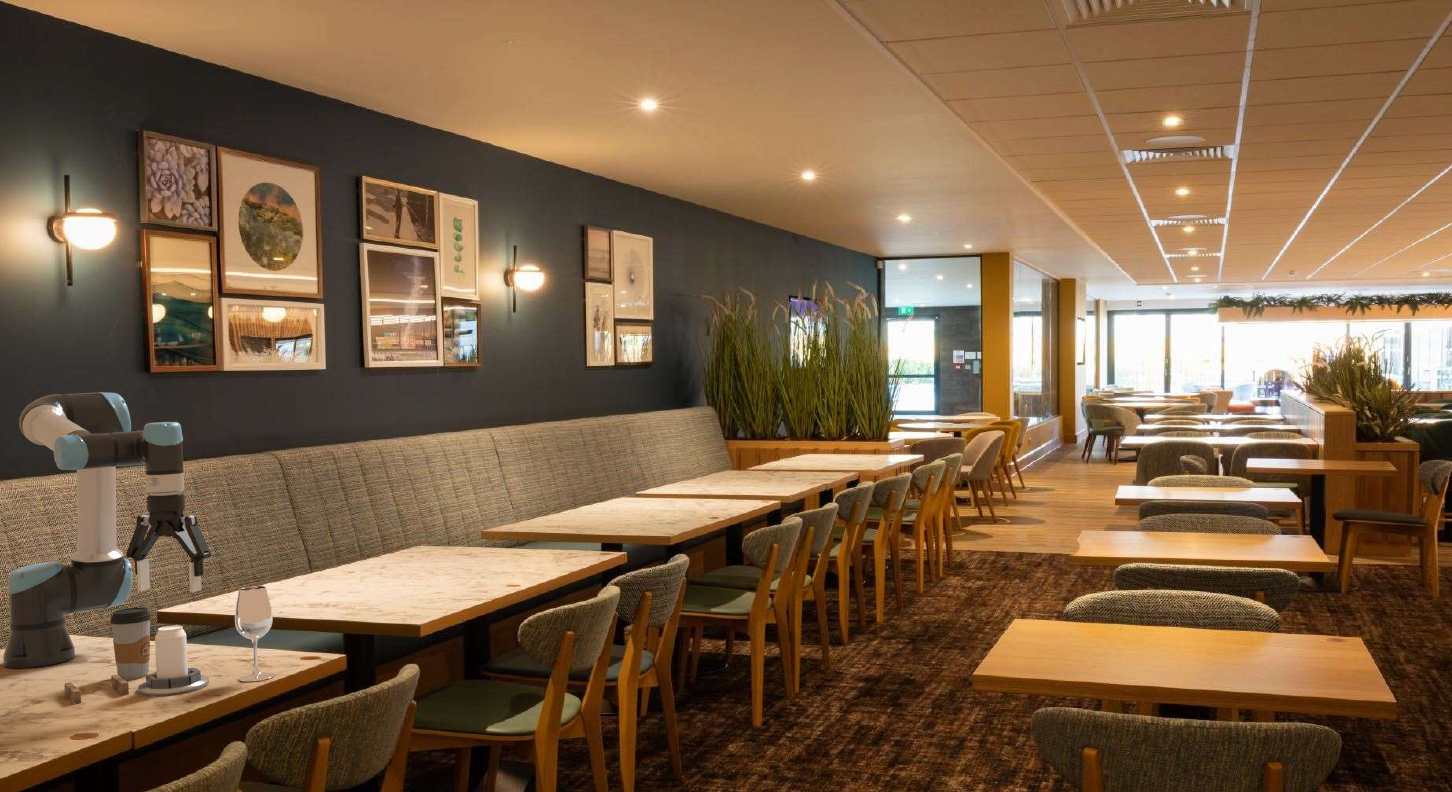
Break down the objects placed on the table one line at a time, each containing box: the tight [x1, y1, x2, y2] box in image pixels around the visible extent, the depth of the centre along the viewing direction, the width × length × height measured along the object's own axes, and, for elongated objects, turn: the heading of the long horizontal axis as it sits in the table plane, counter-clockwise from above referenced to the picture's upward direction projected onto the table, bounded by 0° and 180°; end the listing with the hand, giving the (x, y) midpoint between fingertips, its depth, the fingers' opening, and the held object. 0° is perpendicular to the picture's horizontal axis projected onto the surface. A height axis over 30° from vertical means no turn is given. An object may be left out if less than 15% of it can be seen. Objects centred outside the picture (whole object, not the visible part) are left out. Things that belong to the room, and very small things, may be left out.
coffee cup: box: [110, 606, 152, 681], centre depth 278 cm, size 8×8×15 cm
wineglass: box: [234, 585, 275, 683], centre depth 273 cm, size 8×8×20 cm
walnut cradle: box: [64, 674, 130, 705], centre depth 263 cm, size 10×10×2 cm
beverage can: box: [154, 624, 189, 678], centre depth 267 cm, size 6×6×12 cm
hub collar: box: [137, 667, 210, 697], centre depth 267 cm, size 14×14×3 cm
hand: (169, 590), depth 267 cm, fingers open, 13 cm apart
